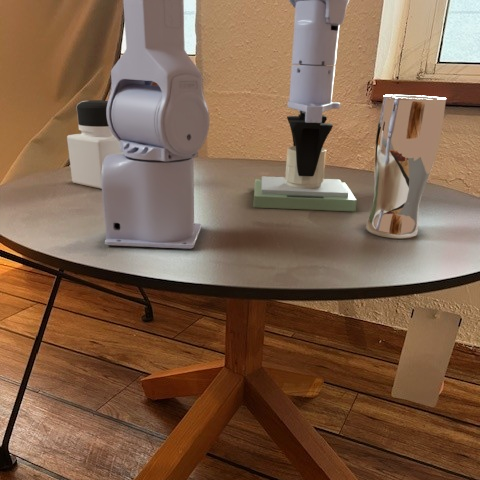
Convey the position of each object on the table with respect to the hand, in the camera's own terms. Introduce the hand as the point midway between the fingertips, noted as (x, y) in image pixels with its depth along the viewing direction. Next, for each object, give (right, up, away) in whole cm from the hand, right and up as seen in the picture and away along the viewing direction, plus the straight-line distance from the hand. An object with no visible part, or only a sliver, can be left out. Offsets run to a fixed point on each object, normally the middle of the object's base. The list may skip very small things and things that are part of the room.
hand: (304, 171), depth 72 cm
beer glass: (+9, -11, -11) cm, 18 cm away
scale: (0, -4, +2) cm, 4 cm away
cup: (0, -2, +1) cm, 2 cm away
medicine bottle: (-31, 0, +8) cm, 32 cm away
